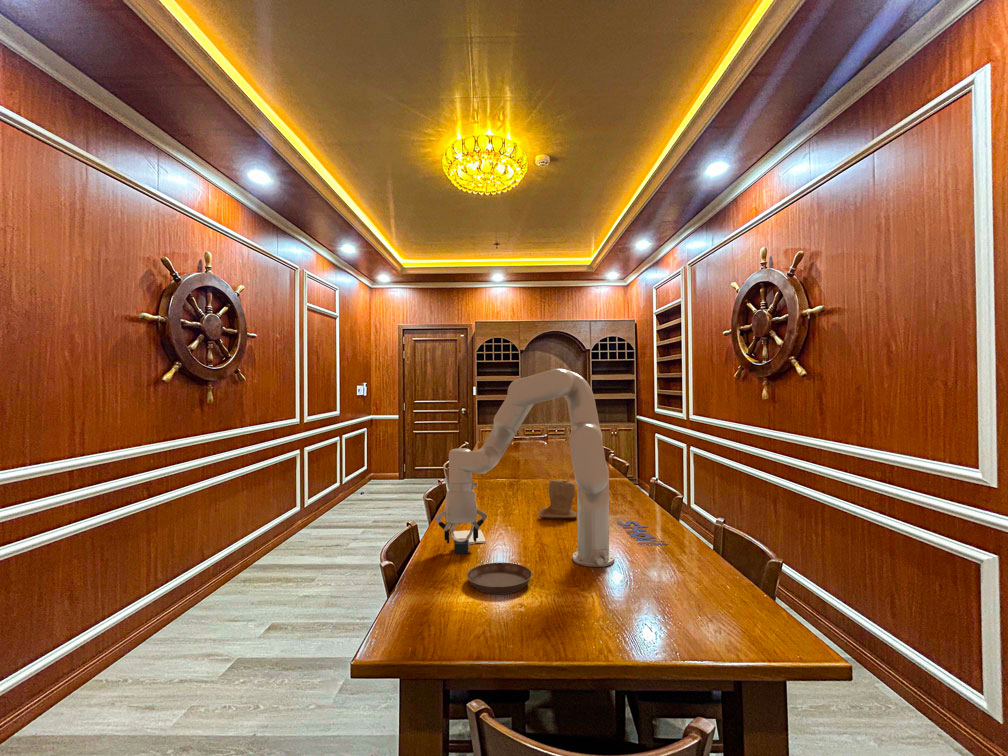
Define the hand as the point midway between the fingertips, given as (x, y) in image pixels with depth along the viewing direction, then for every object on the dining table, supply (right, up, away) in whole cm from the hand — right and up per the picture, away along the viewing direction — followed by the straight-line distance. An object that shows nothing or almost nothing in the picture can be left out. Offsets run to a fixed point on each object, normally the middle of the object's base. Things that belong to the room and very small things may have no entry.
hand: (461, 541), depth 163 cm
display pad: (+2, -3, +13) cm, 14 cm away
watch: (0, -3, 0) cm, 3 cm away
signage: (+63, -4, +19) cm, 66 cm away
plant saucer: (+13, -4, -26) cm, 29 cm away
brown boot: (+35, -3, +40) cm, 53 cm away
